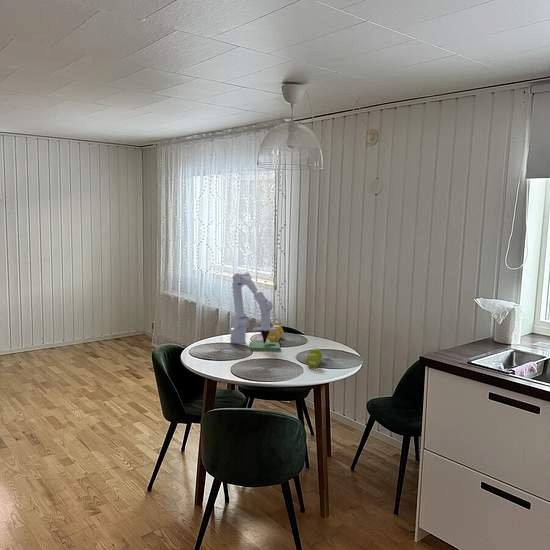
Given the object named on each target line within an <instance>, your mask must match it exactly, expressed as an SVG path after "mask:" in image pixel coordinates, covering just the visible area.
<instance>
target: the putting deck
mask: <svg viewBox="0 0 550 550" xmlns="http://www.w3.org/2000/svg"><path fill="white" fill-rule="evenodd" d="M249 349H250V352H281V351H282V347H281V345H280V343H279V342H270V344H269V345H265V344H264V341H250V342H249Z"/></svg>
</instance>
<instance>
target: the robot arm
mask: <svg viewBox="0 0 550 550" xmlns="http://www.w3.org/2000/svg"><path fill="white" fill-rule="evenodd" d="M244 286H246V287H247V288H248V289H249V291H250V292H252V294H253V298H254V300H255V301H256V302H257V304H258V306H259V307H258V308H259V310H260V327H253V328H252V332H260V334H261V336H262V342H264V343H265V342H266V339H267V336H268V334H269V331H271V332H277V328H272V327H271V312H272V311H271V310H273V307H274V306H273V301H272V300H268V298H267V297H266V296H265V295H264V292H262V290H261V291H260V290H258V288H257V287H256V285H255V283H254V281H253V280H252V276H251V275H250V273H249V272H247V271H246V272H240V273H239V272H237V273H235V274H233V276H232V286H231V287H232V297H233V305H234V314H233V316H232V320H231V326H232V328H230V337H229V340H230V344H247V340H246V334H247V333H246V332H247V331H246V329H247V326H249V319H248V316H247V314H246V313H245V311H244V310H245V309H244V303H243V292H242V288H243V287H244Z"/></svg>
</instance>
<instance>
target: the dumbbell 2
mask: <svg viewBox="0 0 550 550" xmlns="http://www.w3.org/2000/svg"><path fill="white" fill-rule="evenodd" d="M271 328H277V332H271V331H269V334H268V336H267V339H268V340H269V341H270V342H278V341H279V340H280V338H281V337H282V336H283V335H284V330H283V327H282V326H281V325H273V326H271Z"/></svg>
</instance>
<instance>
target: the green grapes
mask: <svg viewBox="0 0 550 550" xmlns="http://www.w3.org/2000/svg"><path fill="white" fill-rule="evenodd" d="M322 358H323V353H322V351H321V350H320V349H319V348H311V349H310V351H309V352H308V356H307V357H306V358H305V363H306V366H307V367H308V368H309V369H317V368H318V366H319V365H320V363H321V359H322Z"/></svg>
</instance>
